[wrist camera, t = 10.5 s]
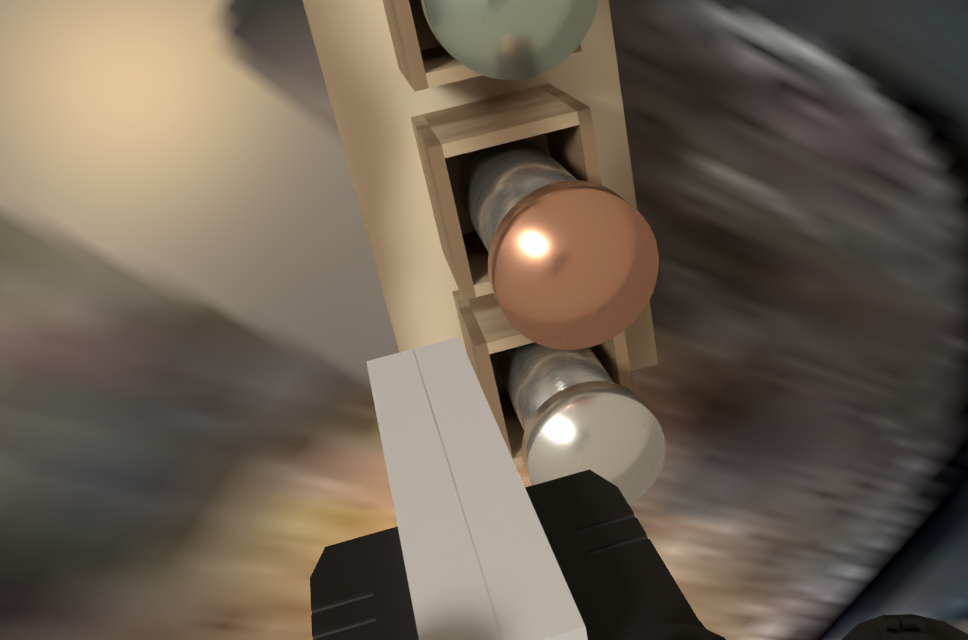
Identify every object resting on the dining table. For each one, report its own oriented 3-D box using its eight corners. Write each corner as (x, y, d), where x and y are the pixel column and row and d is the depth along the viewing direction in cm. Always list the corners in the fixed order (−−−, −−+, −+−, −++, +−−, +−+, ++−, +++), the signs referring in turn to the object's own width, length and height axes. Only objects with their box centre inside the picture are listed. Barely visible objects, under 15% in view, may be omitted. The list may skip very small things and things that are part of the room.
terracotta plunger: (461, 259, 36) (512, 368, 27) (433, 141, 34) (479, 214, 25) (578, 229, 37) (667, 326, 28) (558, 110, 35) (648, 172, 25)
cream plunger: (491, 402, 42) (542, 534, 32) (468, 306, 39) (516, 418, 30) (593, 374, 42) (673, 497, 33) (576, 278, 40) (656, 380, 31)
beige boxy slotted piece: (417, 414, 44) (437, 501, 37) (279, -88, 34) (271, -95, 28) (647, 351, 45) (708, 424, 38) (576, -154, 35) (639, -176, 29)
